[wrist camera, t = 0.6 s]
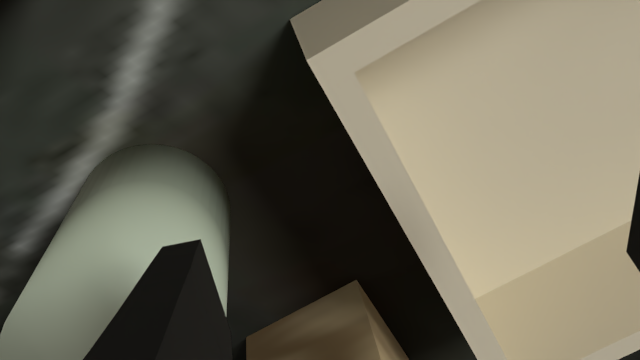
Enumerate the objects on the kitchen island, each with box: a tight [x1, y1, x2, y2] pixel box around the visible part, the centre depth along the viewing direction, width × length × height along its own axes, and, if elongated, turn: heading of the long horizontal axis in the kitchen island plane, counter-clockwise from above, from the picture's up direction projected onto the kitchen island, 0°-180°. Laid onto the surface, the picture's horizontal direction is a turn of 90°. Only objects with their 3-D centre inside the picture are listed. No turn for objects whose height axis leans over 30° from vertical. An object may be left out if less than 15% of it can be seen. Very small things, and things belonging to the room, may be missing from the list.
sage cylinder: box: [0, 144, 231, 360], centre depth 16 cm, size 5×5×7 cm
